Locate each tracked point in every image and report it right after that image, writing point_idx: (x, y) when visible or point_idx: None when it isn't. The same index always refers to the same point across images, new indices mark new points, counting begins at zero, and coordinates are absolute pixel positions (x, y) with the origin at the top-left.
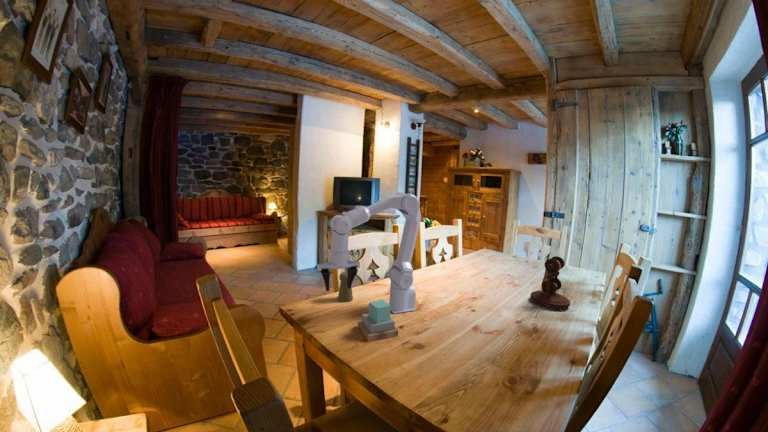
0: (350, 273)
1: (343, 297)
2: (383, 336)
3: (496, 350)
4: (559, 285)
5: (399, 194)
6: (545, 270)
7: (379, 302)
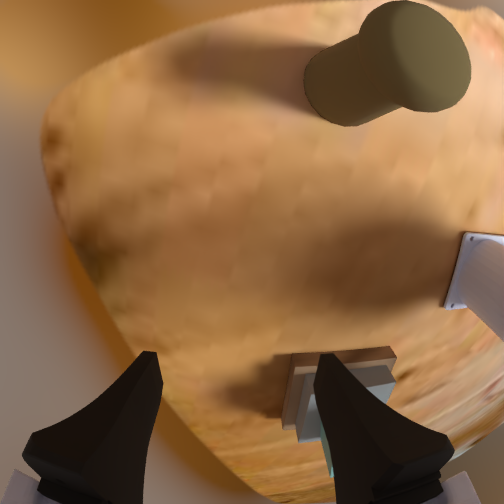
0: (340, 494)
1: (332, 111)
2: None
3: (449, 435)
4: None
5: None
6: None
7: None
